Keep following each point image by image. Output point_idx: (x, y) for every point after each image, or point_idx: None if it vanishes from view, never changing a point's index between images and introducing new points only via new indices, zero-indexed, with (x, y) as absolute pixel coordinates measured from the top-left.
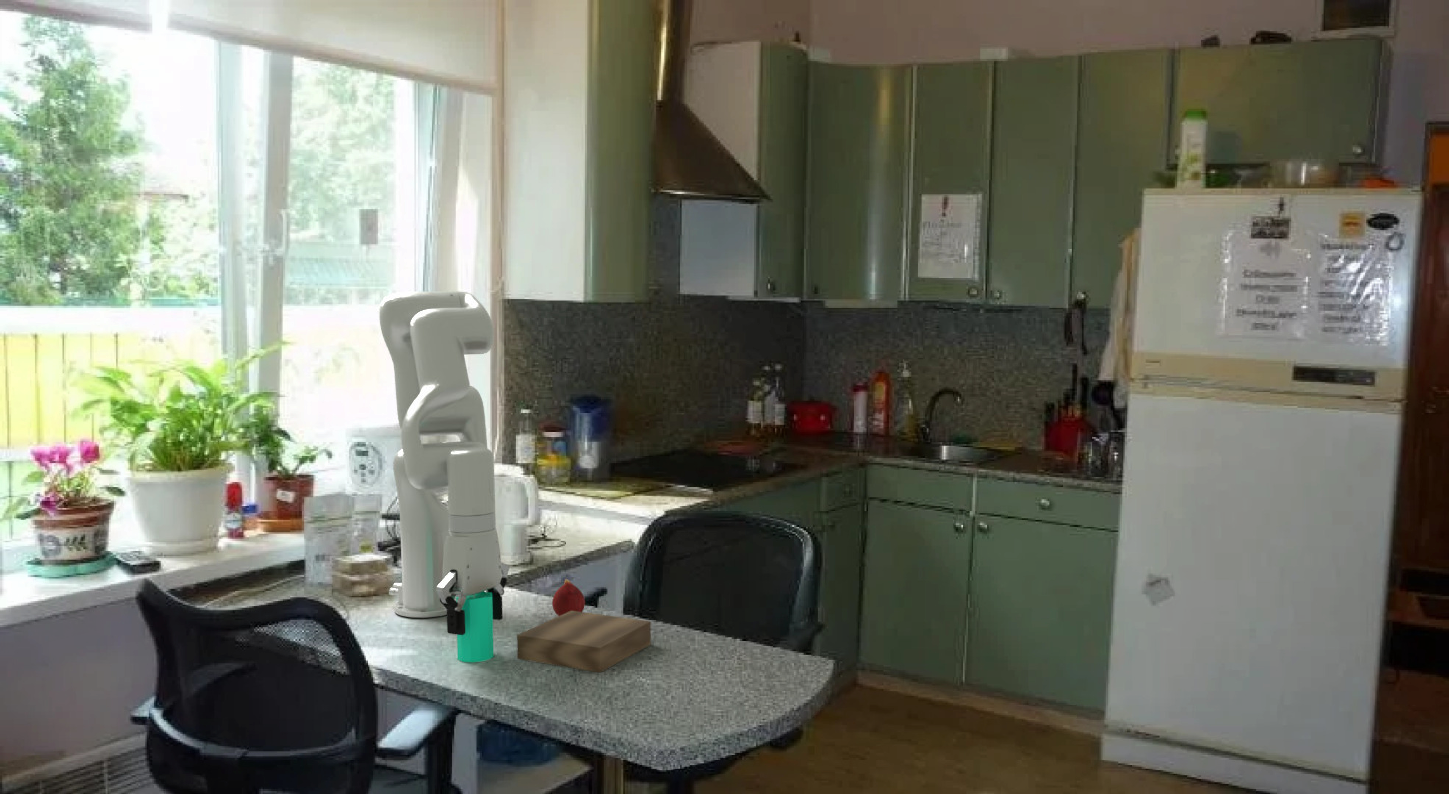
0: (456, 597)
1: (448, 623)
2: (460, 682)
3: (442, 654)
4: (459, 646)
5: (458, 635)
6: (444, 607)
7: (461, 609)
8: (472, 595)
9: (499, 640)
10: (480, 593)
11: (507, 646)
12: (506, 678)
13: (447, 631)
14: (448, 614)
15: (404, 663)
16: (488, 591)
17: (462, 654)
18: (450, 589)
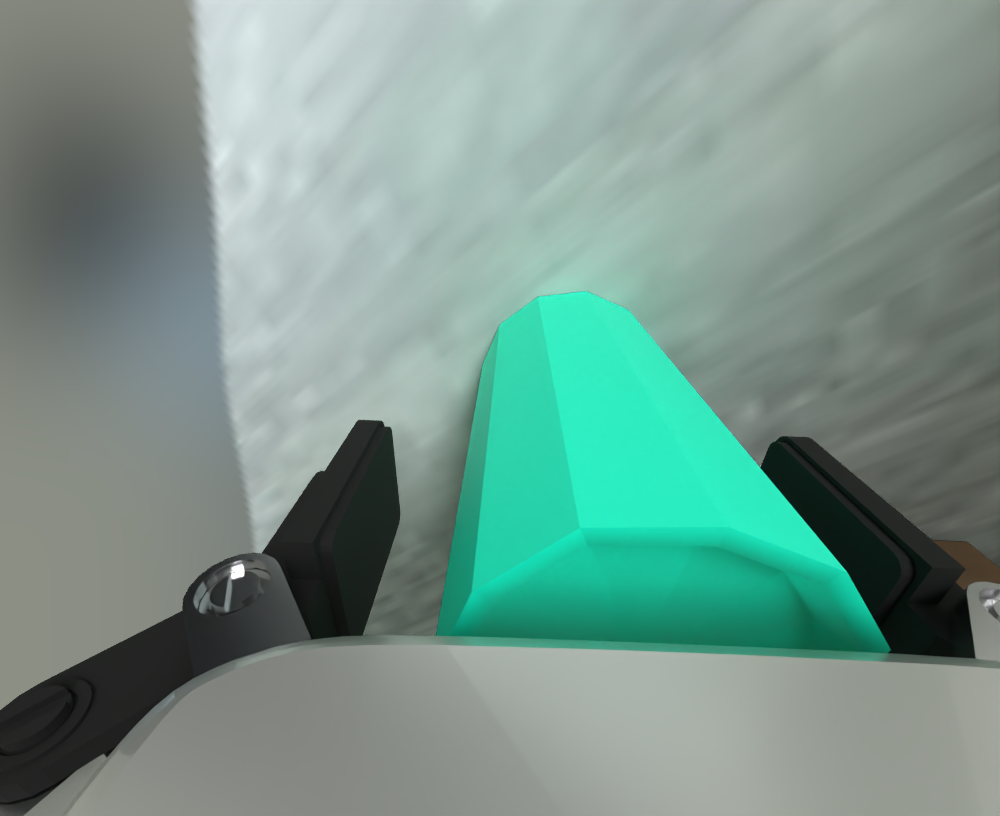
0: (468, 601)
1: (302, 495)
2: (292, 488)
3: (541, 190)
4: (487, 370)
5: (487, 391)
6: (199, 586)
7: (449, 563)
8: (713, 617)
9: (844, 333)
10: (810, 647)
11: (747, 416)
12: (407, 577)
13: (356, 422)
14: (268, 551)
15: (308, 73)
16: (952, 644)
17: (480, 378)
18: (350, 713)
